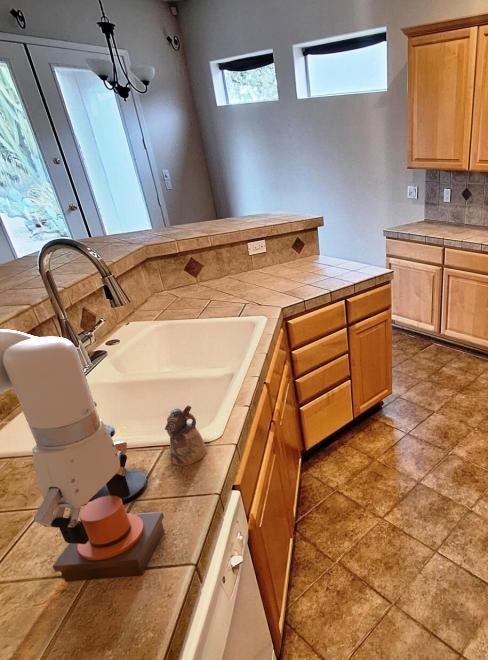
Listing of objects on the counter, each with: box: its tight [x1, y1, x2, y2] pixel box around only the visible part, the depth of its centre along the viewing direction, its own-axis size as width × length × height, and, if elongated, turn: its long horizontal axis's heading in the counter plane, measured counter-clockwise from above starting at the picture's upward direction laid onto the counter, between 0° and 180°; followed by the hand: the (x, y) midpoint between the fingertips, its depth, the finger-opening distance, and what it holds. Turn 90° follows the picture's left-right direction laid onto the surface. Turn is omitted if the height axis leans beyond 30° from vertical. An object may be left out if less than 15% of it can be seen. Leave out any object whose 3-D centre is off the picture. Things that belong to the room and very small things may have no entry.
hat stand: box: [88, 423, 149, 506], centre depth 81 cm, size 10×10×14 cm
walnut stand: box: [52, 511, 165, 583], centre depth 70 cm, size 12×10×4 cm
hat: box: [77, 496, 144, 560], centre depth 67 cm, size 9×9×6 cm
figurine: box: [164, 405, 206, 467], centre depth 92 cm, size 7×7×12 cm
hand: (100, 517), depth 67 cm, fingers open, 9 cm apart
